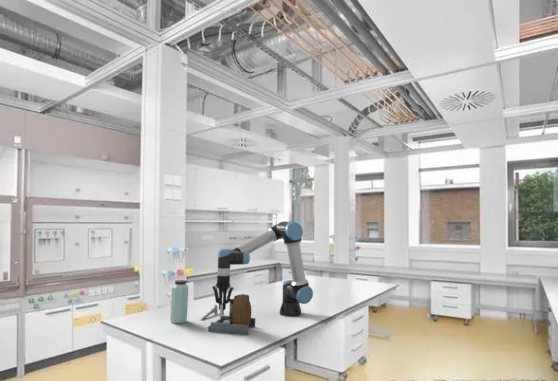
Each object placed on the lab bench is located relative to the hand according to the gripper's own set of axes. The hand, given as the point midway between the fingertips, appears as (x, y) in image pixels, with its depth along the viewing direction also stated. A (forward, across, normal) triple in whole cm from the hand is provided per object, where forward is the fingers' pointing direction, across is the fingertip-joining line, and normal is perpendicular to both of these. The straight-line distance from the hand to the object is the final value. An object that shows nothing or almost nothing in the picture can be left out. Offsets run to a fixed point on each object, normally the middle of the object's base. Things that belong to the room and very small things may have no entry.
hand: (221, 315), depth 217 cm
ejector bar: (+7, -6, 0) cm, 9 cm away
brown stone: (+7, -12, 0) cm, 14 cm away
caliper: (+8, +17, -21) cm, 28 cm away
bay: (+7, -8, 0) cm, 10 cm away
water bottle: (+8, +30, -4) cm, 31 cm away
